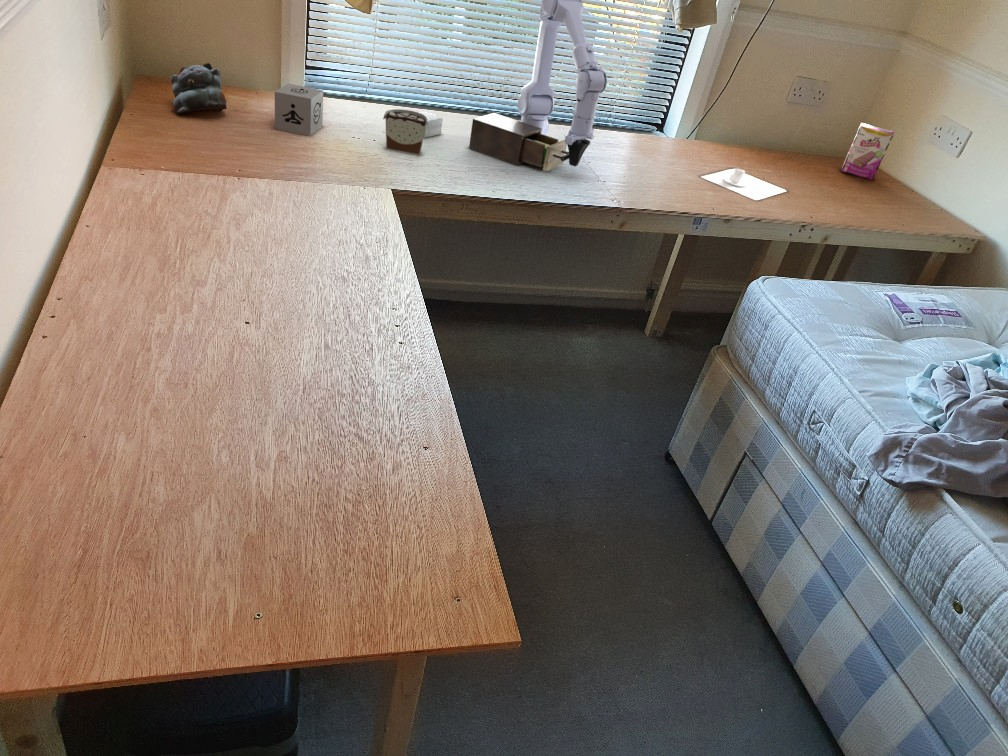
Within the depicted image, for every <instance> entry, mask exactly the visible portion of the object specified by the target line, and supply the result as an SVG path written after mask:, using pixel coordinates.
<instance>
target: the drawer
mask: <svg viewBox="0 0 1008 756" xmlns="http://www.w3.org/2000/svg"><path fill="white" fill-rule="evenodd" d="M533 140H537V141H540V142H543V143H546V144H549V145H550V146H548V147H547V151H546V156H545V162H544V163H543V162H542V160H543V155H544V150H545V145H544V144H541V143H538V142H536V141H533ZM564 141H565V139H562V140H560V141H559V139H558V138H556V137H552V136H549V135H547V136H546V135H543V134H540V133H535V134H532V135H530V136H527V137H524V138H523V143H522V149H521V155H520V160H521V161H524V162H525V163H526V164H529V165H533V166H535V167H539V168H542V171H544V172H549V171H551V170H553V169H555V168H557V167H560V166H562V165H563V164H564V162H565V161H568V160H569V151H566V150H567V147H568V145H567V144H566V143H564Z"/></svg>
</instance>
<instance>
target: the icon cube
mask: <svg viewBox="0 0 1008 756" xmlns="http://www.w3.org/2000/svg"><path fill="white" fill-rule="evenodd" d="M323 112H324V90H323V89H318V88H314V87H313V88H312V87H309V86H302V85H298V84H295V83H294V84H293V83H287V84H285V85H283V86H282V87H279V88H278V89H277V90H275V91H274V130H279V131H283V132H289V133H293V134H299V135H302V136H306V137H307V136H308V137H311V136H312V135H314V134H315V133H316V132H318V131H319V130H320V129H321V128H322V127H323V119H324V118H323V117H324V116H323V114H324V113H323Z"/></svg>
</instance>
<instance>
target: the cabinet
mask: <svg viewBox="0 0 1008 756" xmlns="http://www.w3.org/2000/svg"><path fill="white" fill-rule="evenodd" d="M470 130H471V131H470V137H469V145H468V149H470V150H473V151H475V152H478V153H480V154H484V155H487V156H490V157H492V158H495V159H498V160H501V161H504V162H507V163H509V164H512V165H515V166H520V165H523V164H524V163H526V162H524V161H521V160H520V155H521V149H522V143H523V138H524V137H527V136H530V135H532V134H535V133H540V134H541V131H542V128H539V127H536V126H533V125H530V124H527V123H524V122H521V120H517V119H514V118H512V117H508V116H505V115H502V114H499V113H496V112H491V113H488V114H485V115H481V116H478V117H477V116H476V117H474V118H472V121H471V129H470Z"/></svg>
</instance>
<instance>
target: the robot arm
mask: <svg viewBox="0 0 1008 756" xmlns="http://www.w3.org/2000/svg"><path fill="white" fill-rule="evenodd" d="M583 3H584V2H583V0H541V4H540V10H539V15H538V20H539V21H540V24H539V31H538V37H537V43H536V49H535V56H534V64H533V68H532V69H533V70H532V76H531V81H530V82H528V83H527V84H526V85H524V86H523V87H522V88H521V91H520V95H519V96H518V99H517V110H518V112H519V115H520V116H521V118H520V121H521V122H524V123H527V124H530V125H533V126H536V127H539V128H542V131H541V134H543V135H546V136H548V132H549V128H550V127H549V126H550V123H549V120H548V119H549V117H550V116H551V115H552V114H553V112H554V109H555V91H554V89H553V88H552V87H551V86H550V82H551V81H550V80H551V75H552V69H553V63H554V57H555V51H556V45H557V39H558V33H559V28H560V27H561V26H563V25H565V28H566V30H567V33H568V35H569V38H570V40H571V44H572V47H573V49H572V51H571V57H572V60H573V63H574V67H575V70H576V74H577V76H576V78H575V89H576V91H575V97H576V100H575V106H574V110H573V115H572V119H571V123H570V129H569V131H568V133H567V135H565V137H564V140H565V141H564V143H566V144H567V149H568V152H569V159H568V165H570V166H572V167H578V165H579V164H580V162H581V159H582V157H583V155H584V153H585V151H586V150H587V149H588V147H589V146H590V145H591V141H590V140H593V139H595V135H594V132H595V128H593V125H594V121H595V116H596V112H597V107H598V102H599V99H600V95H601V94H602V93H603V92H604V91H605V90H606V87H607V83H608V79H607V78H608V77H607V73H606V72H605V70H603V69H602V67H601V66H599V65H598V61H597V58H596V54H595V51H594V47H593V46H592V45H591V44H590V43H588V42H587V39H586V32H585V29H584V23H583V19H582V15H583V11H584V4H583Z"/></svg>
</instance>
